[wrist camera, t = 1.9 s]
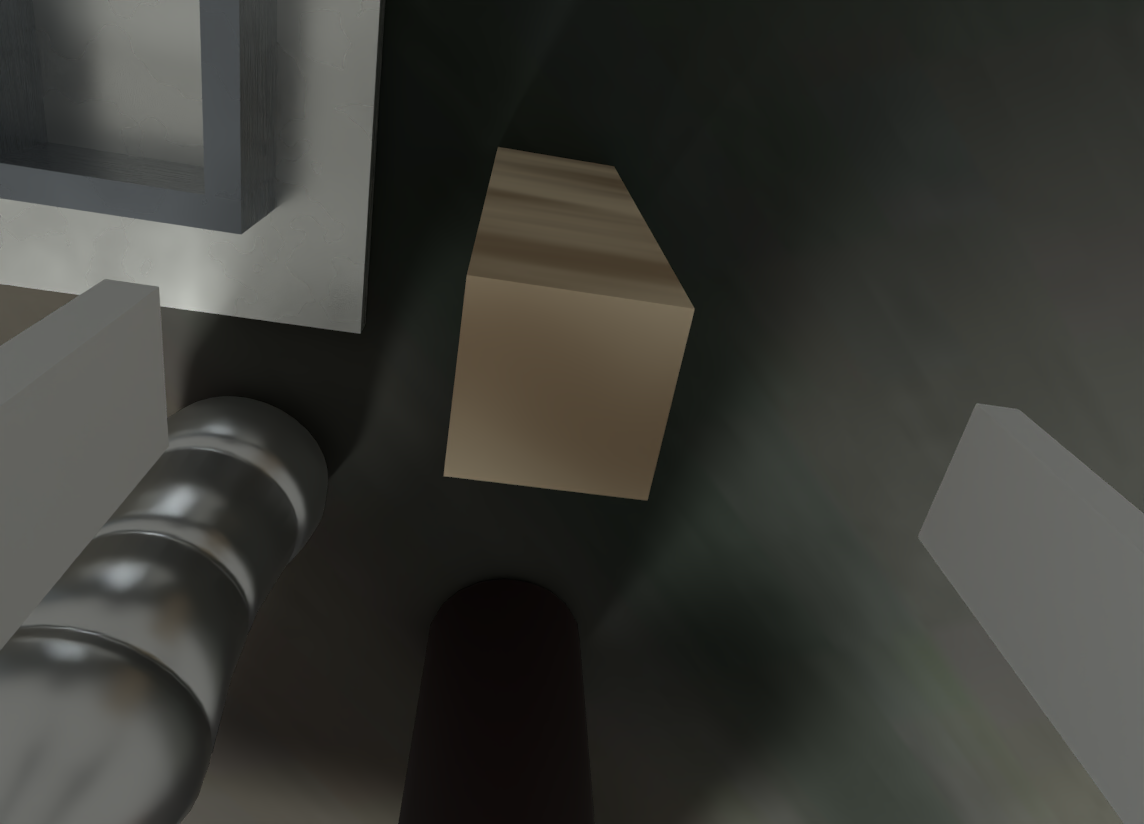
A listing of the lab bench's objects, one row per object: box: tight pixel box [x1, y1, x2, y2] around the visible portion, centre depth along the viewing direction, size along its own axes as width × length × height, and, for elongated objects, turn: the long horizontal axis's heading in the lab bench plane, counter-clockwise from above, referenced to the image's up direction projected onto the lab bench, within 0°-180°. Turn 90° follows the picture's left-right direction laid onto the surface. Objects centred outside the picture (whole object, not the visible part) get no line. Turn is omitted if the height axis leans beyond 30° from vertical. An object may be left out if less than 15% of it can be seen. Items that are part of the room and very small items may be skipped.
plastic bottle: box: [0, 396, 328, 824], centre depth 23 cm, size 6×7×20 cm
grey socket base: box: [0, 0, 385, 334], centre depth 23 cm, size 16×14×4 cm
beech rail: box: [444, 147, 695, 501], centre depth 21 cm, size 4×4×15 cm
